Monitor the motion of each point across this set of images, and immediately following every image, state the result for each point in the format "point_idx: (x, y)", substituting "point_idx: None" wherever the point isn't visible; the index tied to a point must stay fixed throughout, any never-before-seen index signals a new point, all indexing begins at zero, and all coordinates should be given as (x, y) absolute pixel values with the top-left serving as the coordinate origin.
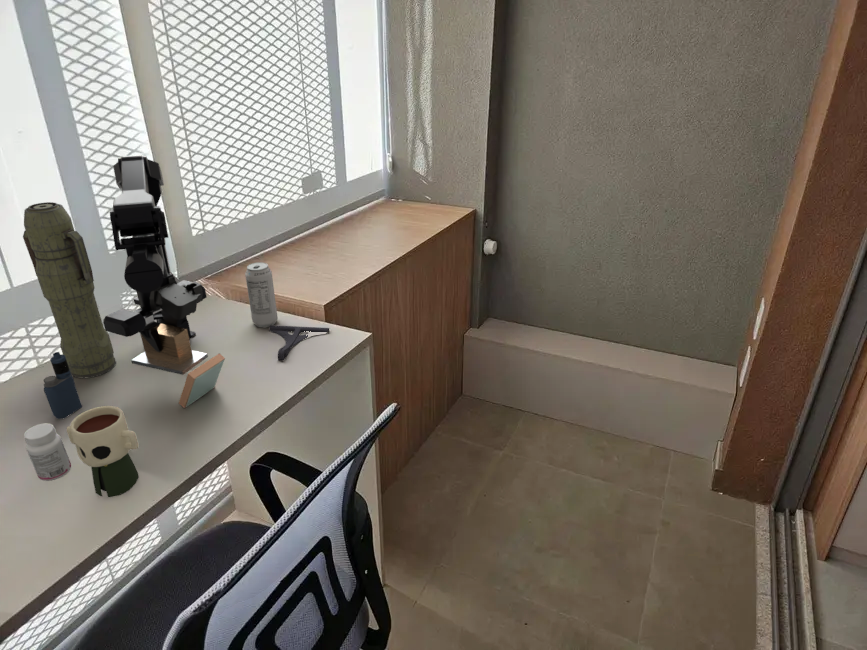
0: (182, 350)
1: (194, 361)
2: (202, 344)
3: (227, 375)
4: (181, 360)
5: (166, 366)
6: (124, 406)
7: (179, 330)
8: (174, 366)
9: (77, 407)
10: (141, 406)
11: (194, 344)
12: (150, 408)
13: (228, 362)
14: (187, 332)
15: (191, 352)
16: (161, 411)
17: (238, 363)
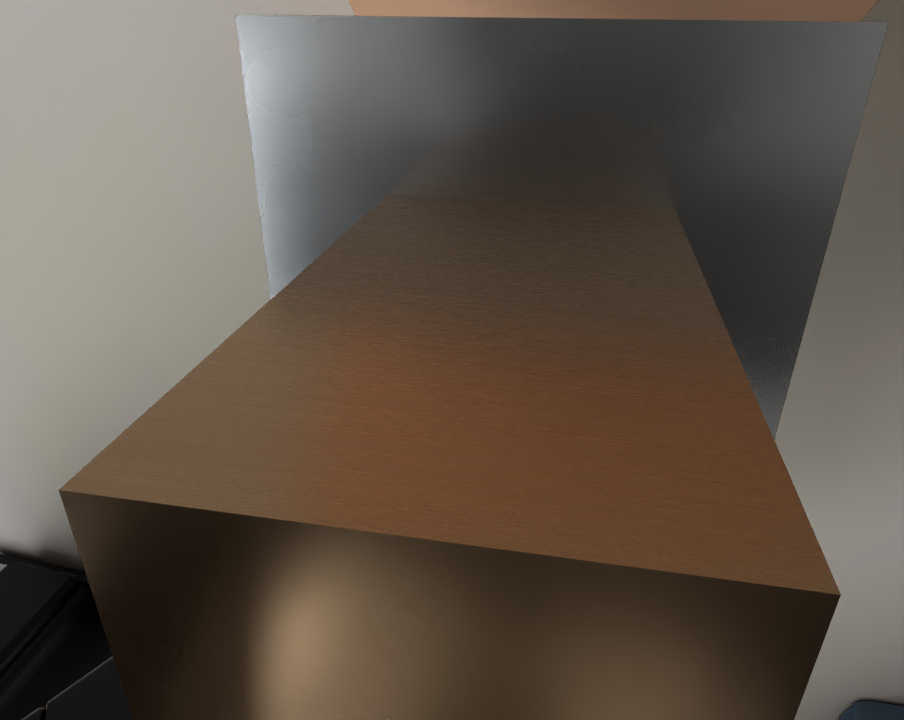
0: (558, 269)
1: (520, 48)
2: (28, 460)
3: (210, 20)
4: (633, 221)
5: (760, 369)
6: (818, 501)
7: (284, 641)
8: (743, 261)
9: (895, 717)
10: (802, 401)
11: (57, 502)
12: (820, 326)
13: (71, 150)
14: (163, 405)
15: (379, 213)
16: (854, 218)
17: (33, 54)
